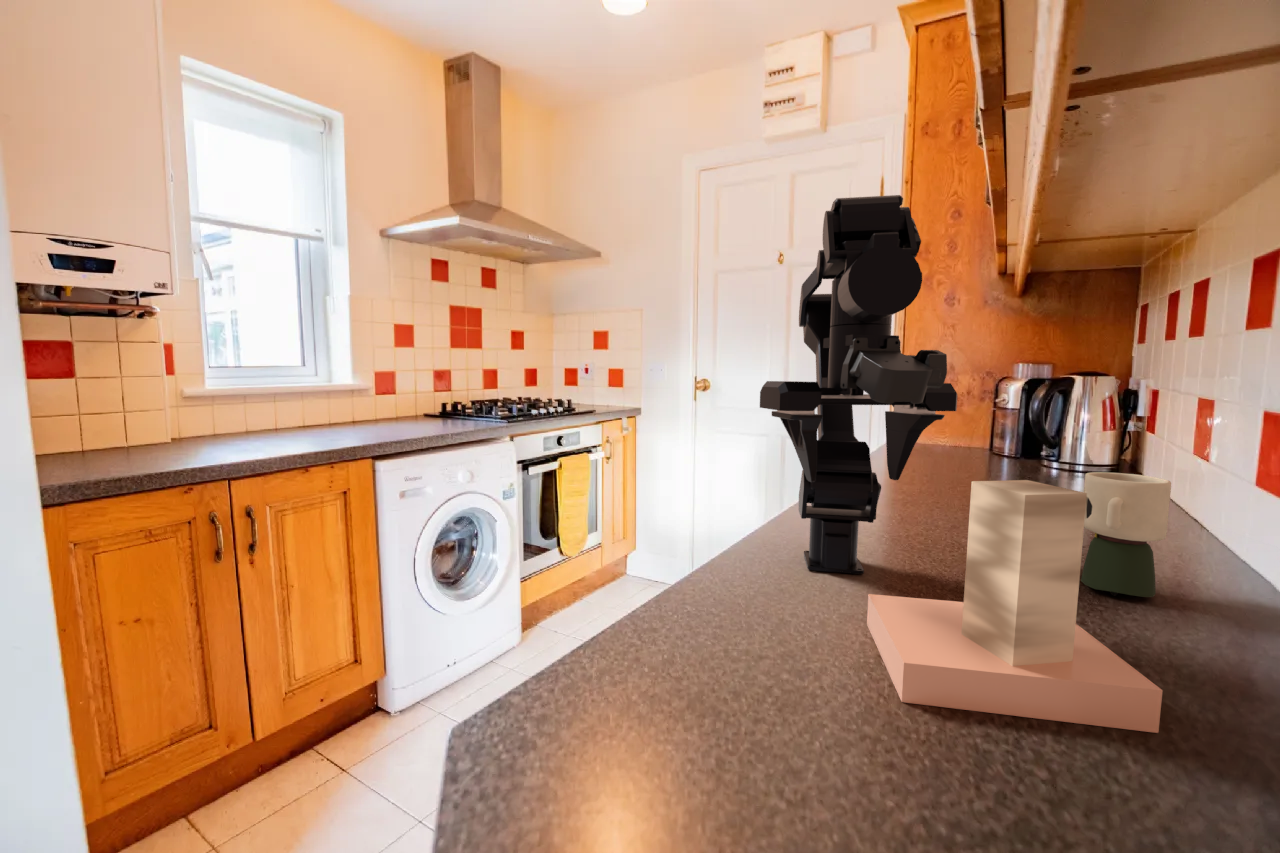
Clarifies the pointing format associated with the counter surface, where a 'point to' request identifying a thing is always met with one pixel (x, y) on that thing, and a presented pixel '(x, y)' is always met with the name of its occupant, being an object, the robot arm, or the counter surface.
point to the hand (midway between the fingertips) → (853, 480)
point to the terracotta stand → (1004, 671)
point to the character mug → (1124, 531)
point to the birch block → (1023, 570)
